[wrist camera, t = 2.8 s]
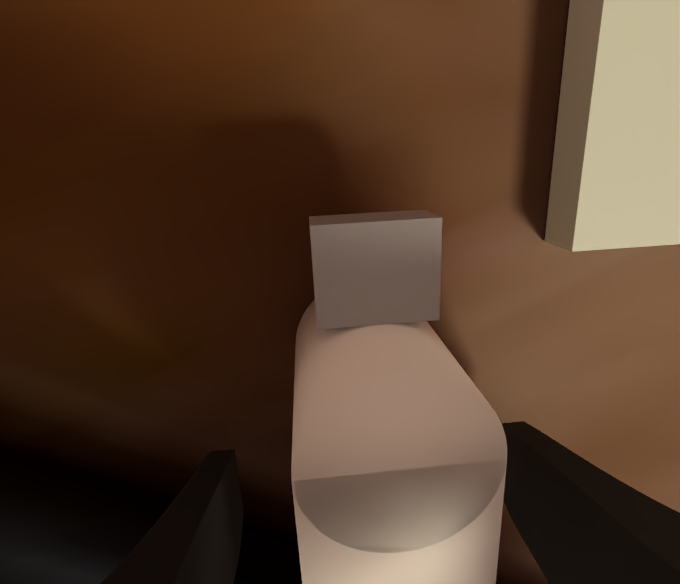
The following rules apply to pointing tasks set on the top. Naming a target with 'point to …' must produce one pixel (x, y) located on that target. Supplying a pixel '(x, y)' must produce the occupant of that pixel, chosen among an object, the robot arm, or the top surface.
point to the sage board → (618, 128)
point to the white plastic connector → (389, 417)
